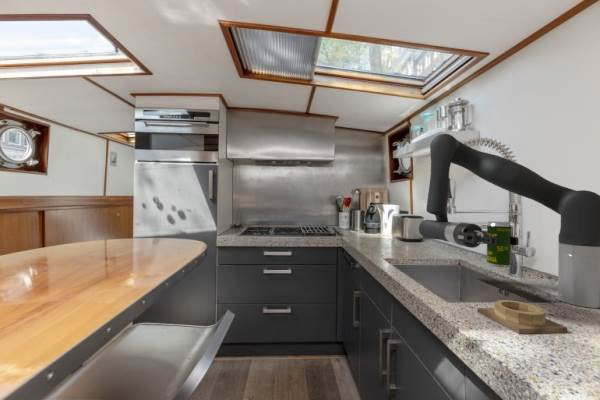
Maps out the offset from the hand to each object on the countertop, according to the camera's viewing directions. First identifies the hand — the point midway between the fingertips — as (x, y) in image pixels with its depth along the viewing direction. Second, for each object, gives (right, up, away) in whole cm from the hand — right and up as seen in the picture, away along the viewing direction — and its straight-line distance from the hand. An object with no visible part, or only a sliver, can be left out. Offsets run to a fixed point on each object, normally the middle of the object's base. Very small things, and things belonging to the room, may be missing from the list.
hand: (506, 241), depth 73 cm
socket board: (-2, -19, -6) cm, 20 cm away
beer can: (0, -7, +2) cm, 8 cm away
